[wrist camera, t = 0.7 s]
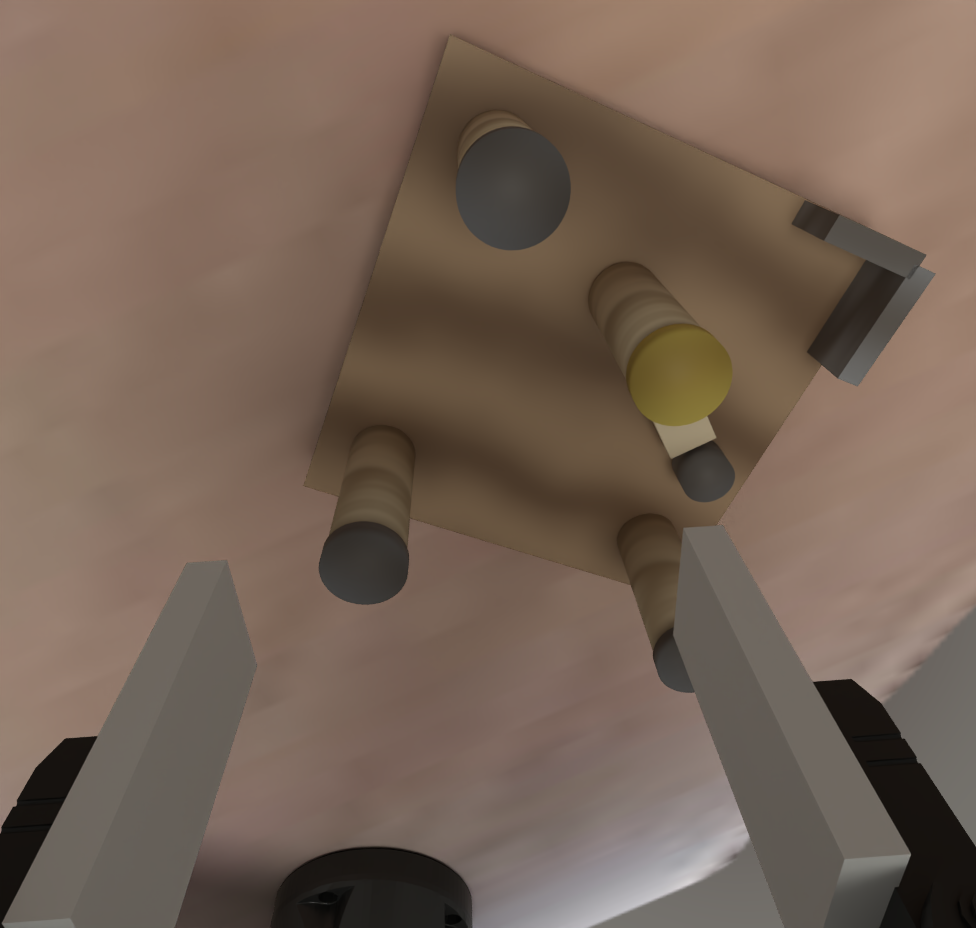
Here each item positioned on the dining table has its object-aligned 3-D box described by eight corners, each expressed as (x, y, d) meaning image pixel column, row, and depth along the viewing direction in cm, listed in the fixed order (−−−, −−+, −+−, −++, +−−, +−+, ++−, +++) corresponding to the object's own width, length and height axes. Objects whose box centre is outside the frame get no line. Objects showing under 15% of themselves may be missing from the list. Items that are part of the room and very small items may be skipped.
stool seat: (657, 567, 41) (722, 729, 32) (311, 460, 37) (261, 608, 27) (871, 230, 32) (1053, 308, 23) (450, 35, 28) (449, 28, 18)
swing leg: (737, 465, 35) (817, 581, 27) (674, 493, 36) (735, 614, 28) (645, 245, 30) (712, 313, 22) (573, 283, 30) (615, 362, 23)
